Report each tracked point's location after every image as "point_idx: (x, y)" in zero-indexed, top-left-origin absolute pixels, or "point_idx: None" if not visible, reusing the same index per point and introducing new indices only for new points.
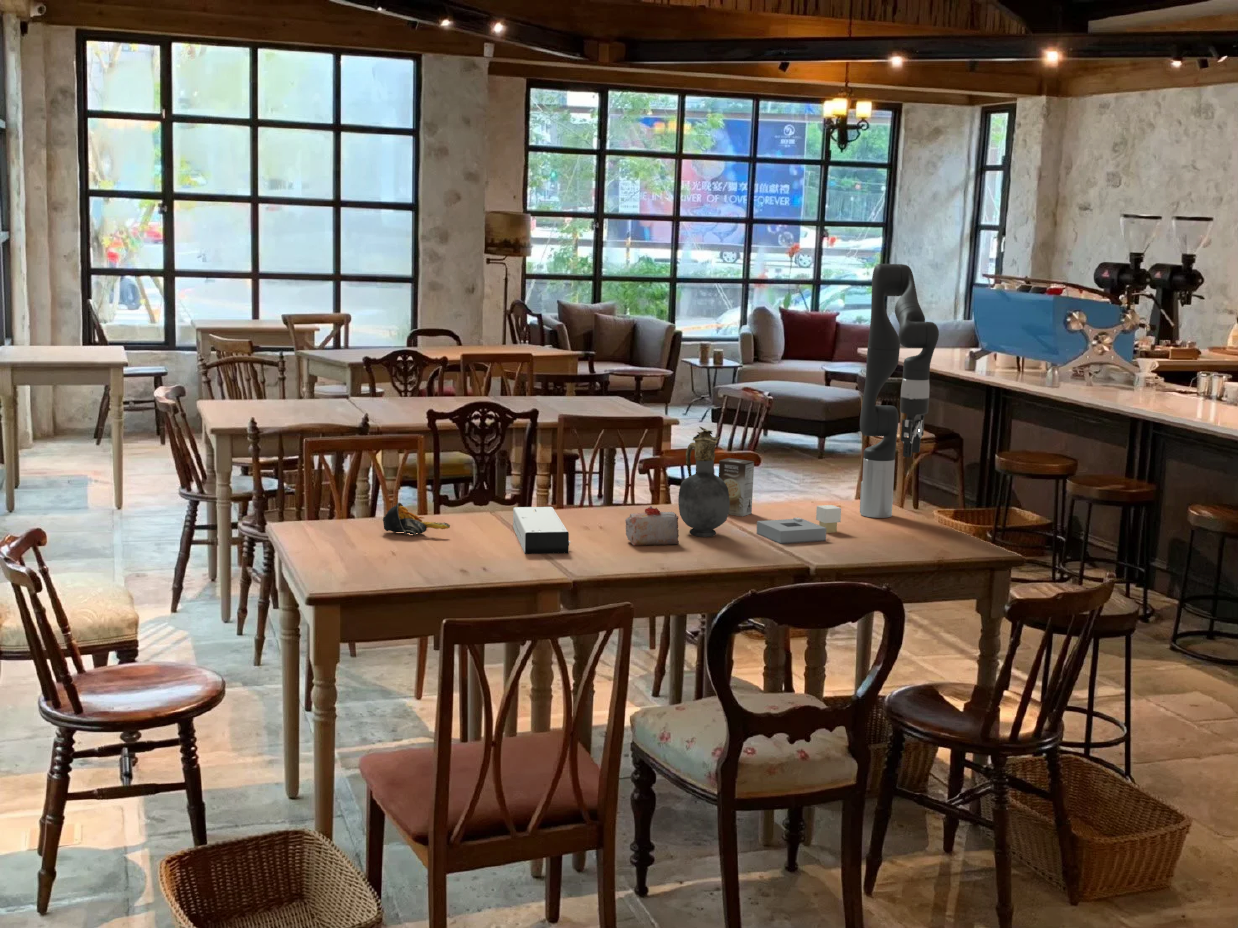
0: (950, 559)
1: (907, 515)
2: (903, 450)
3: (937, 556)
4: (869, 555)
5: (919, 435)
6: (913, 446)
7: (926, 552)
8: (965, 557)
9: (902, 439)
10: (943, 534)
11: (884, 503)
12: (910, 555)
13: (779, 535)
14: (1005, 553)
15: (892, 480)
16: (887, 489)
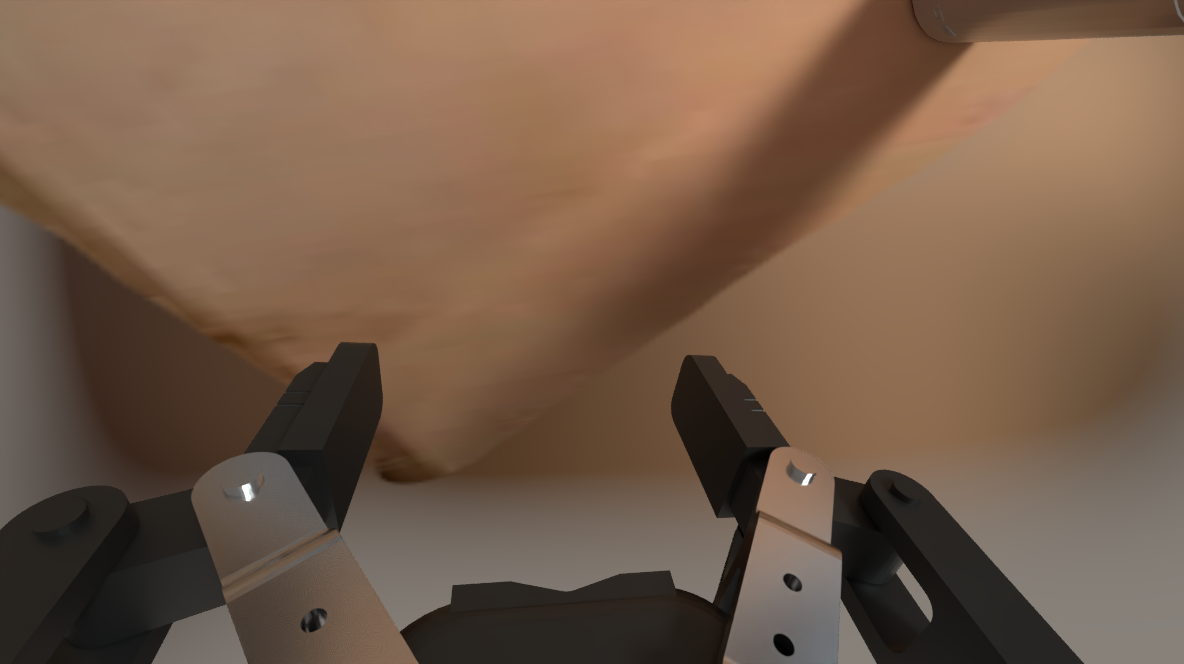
0: (278, 363)
1: (971, 107)
2: (318, 381)
3: (292, 322)
4: (72, 70)
5: (724, 567)
6: (703, 402)
7: (331, 281)
8: None
9: (19, 545)
10: (661, 281)
11: (969, 3)
12: (232, 239)
13: None
14: (470, 458)
15: (1113, 32)
16: (1041, 9)
